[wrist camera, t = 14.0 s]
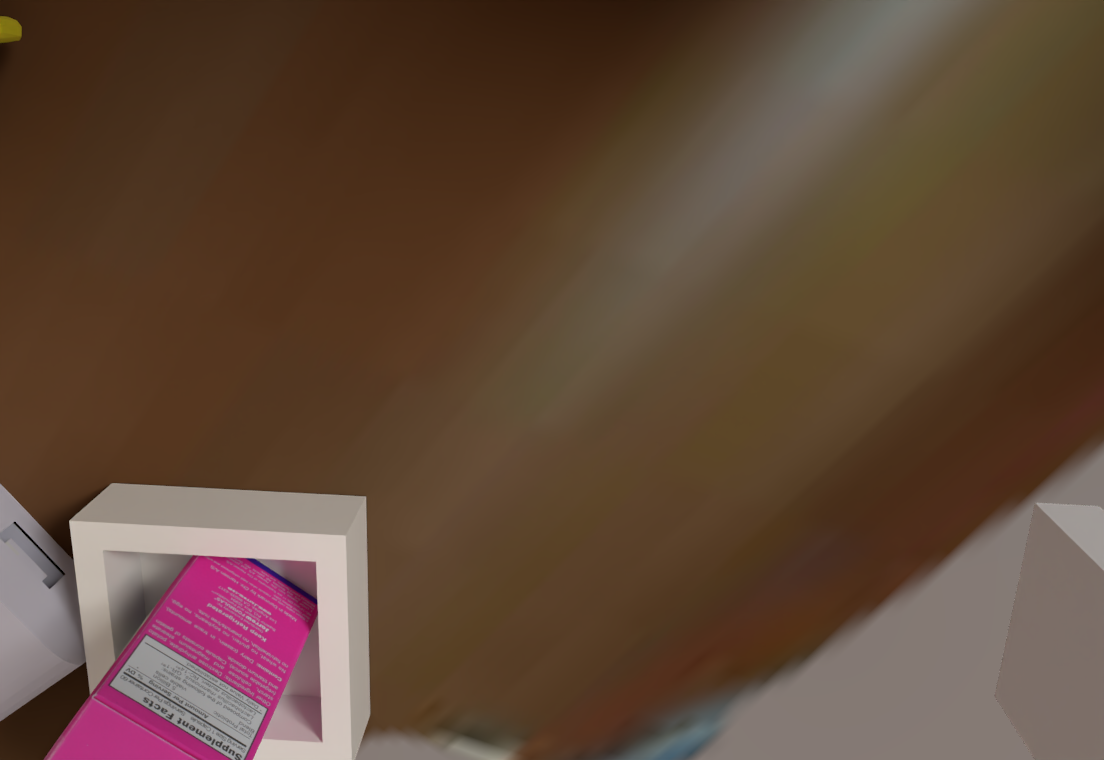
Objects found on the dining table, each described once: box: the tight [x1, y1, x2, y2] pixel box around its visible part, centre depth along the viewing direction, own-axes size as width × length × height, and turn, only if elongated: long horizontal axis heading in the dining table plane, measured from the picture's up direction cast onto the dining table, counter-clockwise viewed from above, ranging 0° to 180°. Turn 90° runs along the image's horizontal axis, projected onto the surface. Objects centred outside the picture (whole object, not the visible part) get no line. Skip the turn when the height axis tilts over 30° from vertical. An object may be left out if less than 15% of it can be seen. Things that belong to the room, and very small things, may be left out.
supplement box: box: [44, 555, 318, 760], centre depth 37 cm, size 6×6×12 cm
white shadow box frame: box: [69, 483, 370, 760], centre depth 42 cm, size 11×11×4 cm
